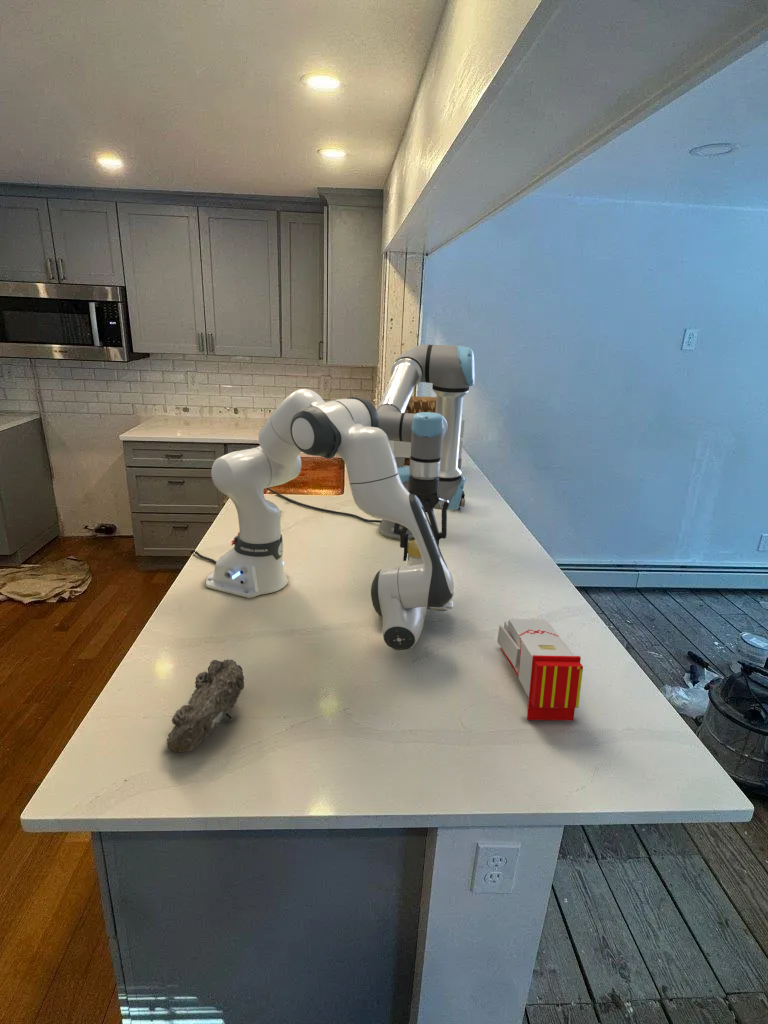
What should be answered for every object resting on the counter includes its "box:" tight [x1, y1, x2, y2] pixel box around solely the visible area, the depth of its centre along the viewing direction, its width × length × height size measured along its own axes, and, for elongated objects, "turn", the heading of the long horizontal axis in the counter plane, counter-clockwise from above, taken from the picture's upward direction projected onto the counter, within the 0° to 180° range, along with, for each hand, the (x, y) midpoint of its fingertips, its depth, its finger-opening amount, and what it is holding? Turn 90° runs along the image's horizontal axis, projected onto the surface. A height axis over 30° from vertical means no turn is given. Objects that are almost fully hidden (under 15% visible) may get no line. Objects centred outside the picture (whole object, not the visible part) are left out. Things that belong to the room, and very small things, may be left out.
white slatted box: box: [389, 395, 465, 471], centre depth 268 cm, size 34×33×41 cm
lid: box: [407, 539, 421, 557], centre depth 148 cm, size 6×6×2 cm
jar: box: [406, 553, 424, 566], centre depth 151 cm, size 6×6×16 cm
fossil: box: [166, 658, 245, 754], centre depth 106 cm, size 22×10×15 cm
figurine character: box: [457, 490, 466, 511], centre depth 229 cm, size 7×8×15 cm
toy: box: [497, 618, 584, 722], centre depth 122 cm, size 12×13×30 cm
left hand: (417, 580), depth 152 cm, fingers closed on jar, 5 cm apart
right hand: (418, 559), depth 149 cm, fingers closed on lid, 6 cm apart
